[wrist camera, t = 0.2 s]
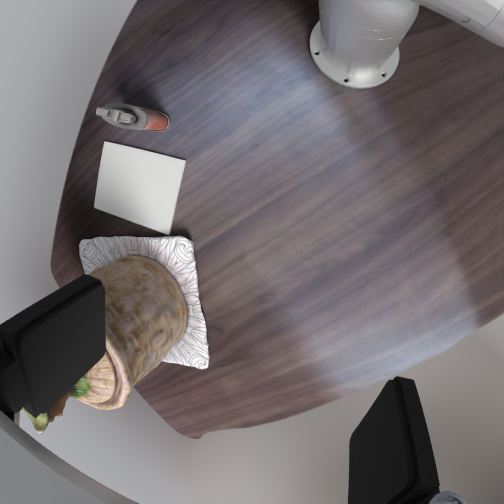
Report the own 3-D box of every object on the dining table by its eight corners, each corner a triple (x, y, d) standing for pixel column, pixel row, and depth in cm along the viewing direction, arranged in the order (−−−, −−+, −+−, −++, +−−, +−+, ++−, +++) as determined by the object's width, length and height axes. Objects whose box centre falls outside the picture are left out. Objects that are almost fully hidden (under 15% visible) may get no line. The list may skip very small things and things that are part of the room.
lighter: (174, 115, 43) (139, 107, 34) (167, 135, 44) (131, 133, 35) (133, 104, 44) (94, 97, 35) (127, 124, 45) (88, 121, 36)
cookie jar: (196, 231, 48) (38, 336, 18) (215, 363, 55) (134, 506, 25) (81, 236, 54) (-57, 301, 24) (109, 347, 60) (13, 440, 31)
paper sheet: (105, 141, 47) (104, 141, 46) (186, 160, 45) (184, 160, 44) (95, 207, 51) (93, 207, 50) (169, 234, 49) (168, 235, 49)
